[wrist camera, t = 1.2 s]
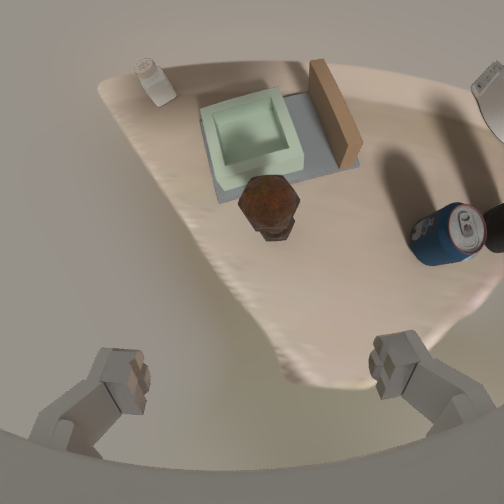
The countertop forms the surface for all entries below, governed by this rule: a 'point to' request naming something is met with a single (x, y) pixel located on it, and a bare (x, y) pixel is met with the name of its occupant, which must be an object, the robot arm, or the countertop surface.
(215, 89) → the countertop surface
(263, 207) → the bolt
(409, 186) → the countertop surface
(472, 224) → the soda can
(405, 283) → the countertop surface
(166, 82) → the pepper shaker
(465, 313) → the countertop surface
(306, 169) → the backstop board
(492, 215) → the travel mug
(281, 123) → the socket block
